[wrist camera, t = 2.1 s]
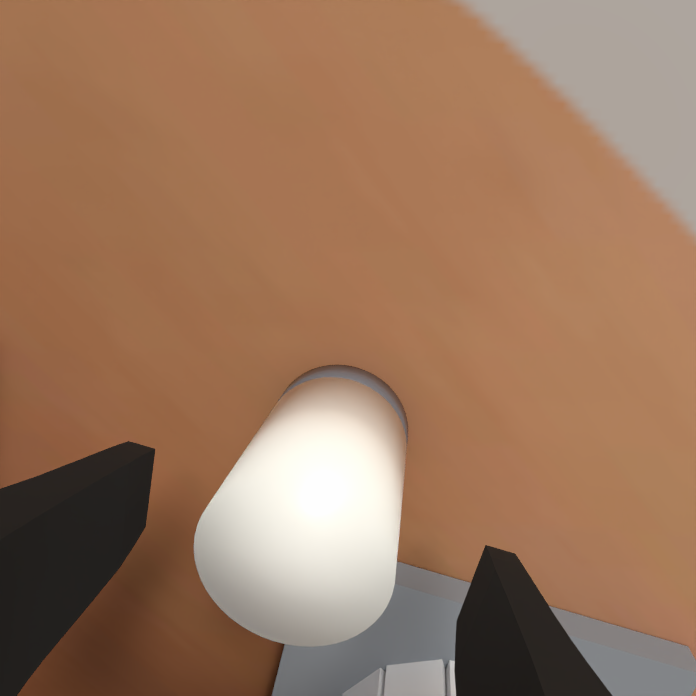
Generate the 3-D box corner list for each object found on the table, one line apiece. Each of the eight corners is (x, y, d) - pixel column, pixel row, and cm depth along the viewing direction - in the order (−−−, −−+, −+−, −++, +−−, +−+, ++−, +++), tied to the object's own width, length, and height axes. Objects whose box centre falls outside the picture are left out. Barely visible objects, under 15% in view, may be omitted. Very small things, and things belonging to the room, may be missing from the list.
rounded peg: (265, 466, 17) (181, 612, 11) (289, 349, 16) (208, 448, 10) (388, 502, 17) (367, 669, 11) (424, 385, 15) (420, 508, 10)
